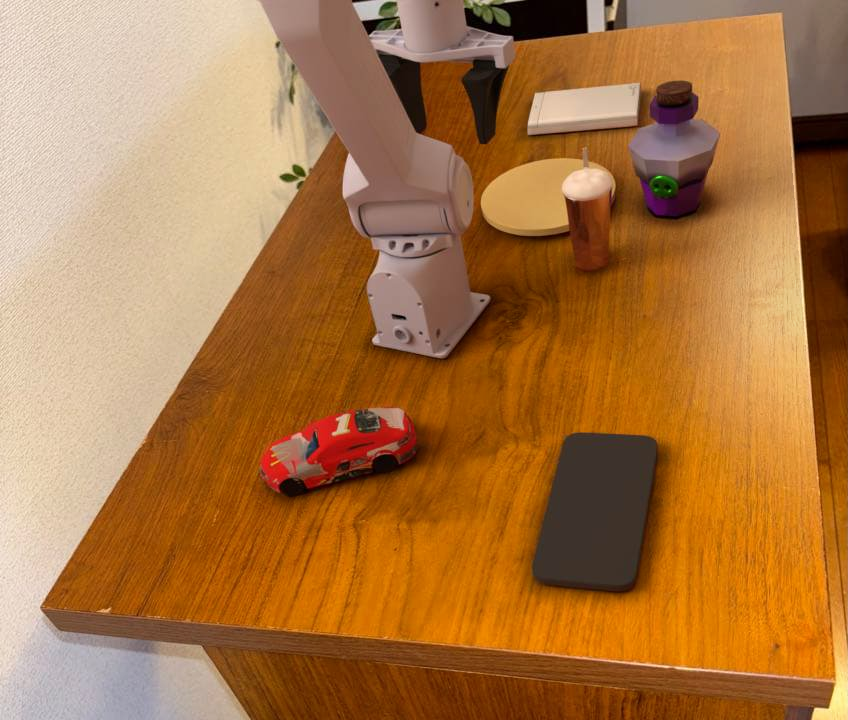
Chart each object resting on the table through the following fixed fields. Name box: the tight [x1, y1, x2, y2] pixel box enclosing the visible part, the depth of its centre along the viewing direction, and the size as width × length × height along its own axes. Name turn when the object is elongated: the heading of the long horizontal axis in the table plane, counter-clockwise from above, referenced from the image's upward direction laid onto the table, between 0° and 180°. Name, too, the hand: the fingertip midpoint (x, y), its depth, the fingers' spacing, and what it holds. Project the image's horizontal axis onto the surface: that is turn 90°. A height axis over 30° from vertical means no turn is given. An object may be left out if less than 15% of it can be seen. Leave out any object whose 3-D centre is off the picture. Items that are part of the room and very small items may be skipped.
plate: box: [480, 157, 617, 237], centre depth 103 cm, size 14×14×1 cm
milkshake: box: [562, 147, 612, 272], centre depth 91 cm, size 4×5×10 cm
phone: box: [531, 431, 659, 592], centre depth 73 cm, size 7×1×15 cm
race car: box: [259, 406, 419, 497], centre depth 80 cm, size 13×5×4 cm, turn 98°
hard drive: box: [527, 82, 642, 136], centre depth 114 cm, size 2×8×12 cm
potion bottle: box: [627, 79, 721, 220], centre depth 94 cm, size 9×9×12 cm
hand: (452, 135), depth 95 cm, fingers open, 7 cm apart
